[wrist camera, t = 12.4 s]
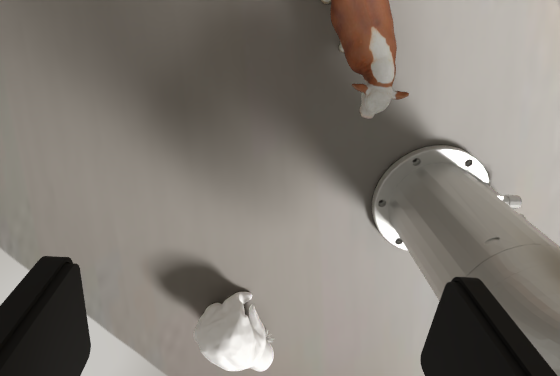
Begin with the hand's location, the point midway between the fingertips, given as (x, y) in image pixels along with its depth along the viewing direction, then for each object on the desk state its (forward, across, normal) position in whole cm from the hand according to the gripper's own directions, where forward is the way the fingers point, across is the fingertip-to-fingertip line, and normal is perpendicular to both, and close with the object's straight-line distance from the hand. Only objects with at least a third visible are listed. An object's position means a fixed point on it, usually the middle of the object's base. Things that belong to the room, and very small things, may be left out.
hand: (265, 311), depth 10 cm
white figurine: (+30, 0, +28) cm, 41 cm away
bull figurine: (+29, -7, -6) cm, 31 cm away
